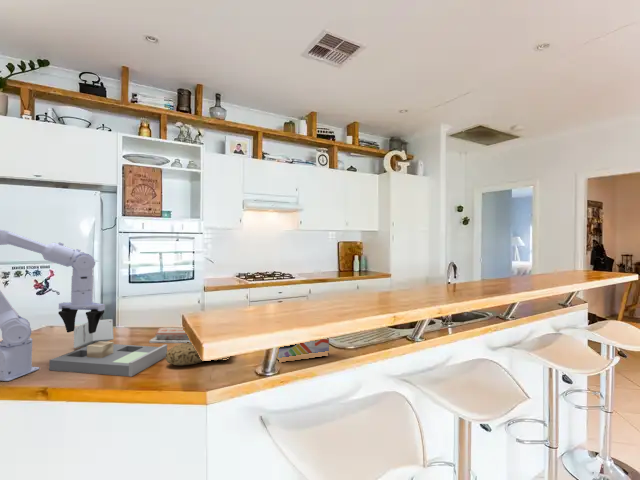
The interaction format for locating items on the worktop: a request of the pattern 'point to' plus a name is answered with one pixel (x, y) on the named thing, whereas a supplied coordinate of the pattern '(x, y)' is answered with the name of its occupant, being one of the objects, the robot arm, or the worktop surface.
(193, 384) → the worktop surface
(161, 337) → the packaged product
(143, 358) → the platform
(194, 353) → the sponge
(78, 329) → the supplement box
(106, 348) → the block
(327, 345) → the cake pan box
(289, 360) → the worktop surface
